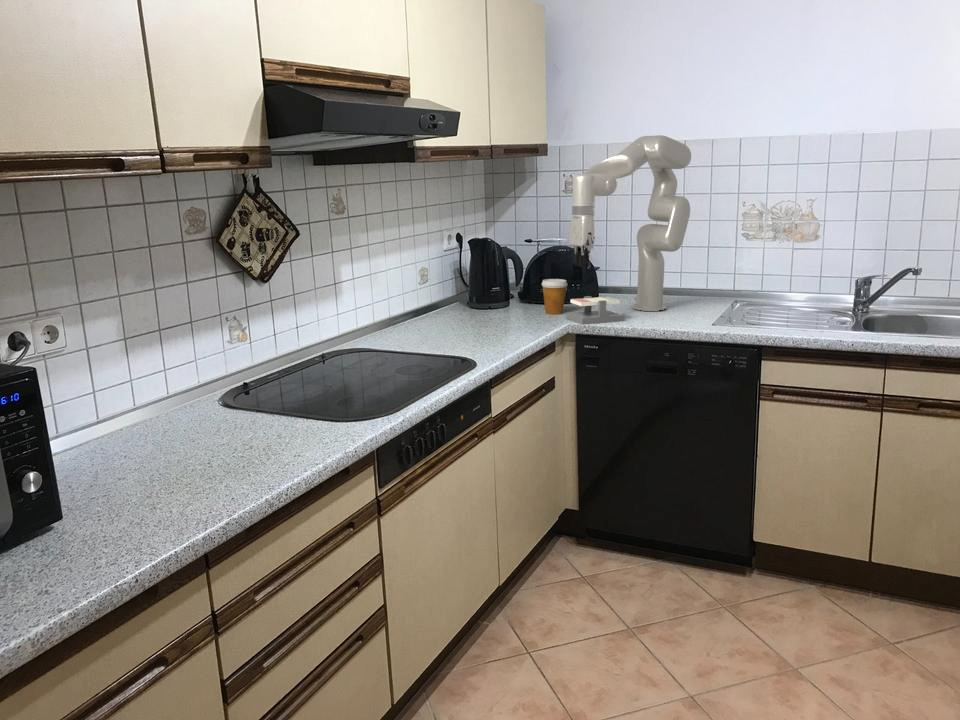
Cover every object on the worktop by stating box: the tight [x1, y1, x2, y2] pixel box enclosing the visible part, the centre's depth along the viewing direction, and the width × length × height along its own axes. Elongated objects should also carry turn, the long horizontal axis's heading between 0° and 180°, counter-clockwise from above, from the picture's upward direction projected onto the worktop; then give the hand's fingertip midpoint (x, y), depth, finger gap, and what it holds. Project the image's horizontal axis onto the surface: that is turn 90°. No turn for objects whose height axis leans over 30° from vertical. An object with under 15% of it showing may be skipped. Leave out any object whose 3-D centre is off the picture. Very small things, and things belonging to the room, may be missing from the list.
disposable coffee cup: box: [541, 278, 568, 315], centre depth 287 cm, size 10×10×12 cm
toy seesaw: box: [565, 295, 624, 325], centre depth 273 cm, size 12×16×8 cm
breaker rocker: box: [569, 296, 621, 307], centre depth 273 cm, size 8×15×1 cm, turn 111°
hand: (581, 265), depth 268 cm, fingers open, 2 cm apart
